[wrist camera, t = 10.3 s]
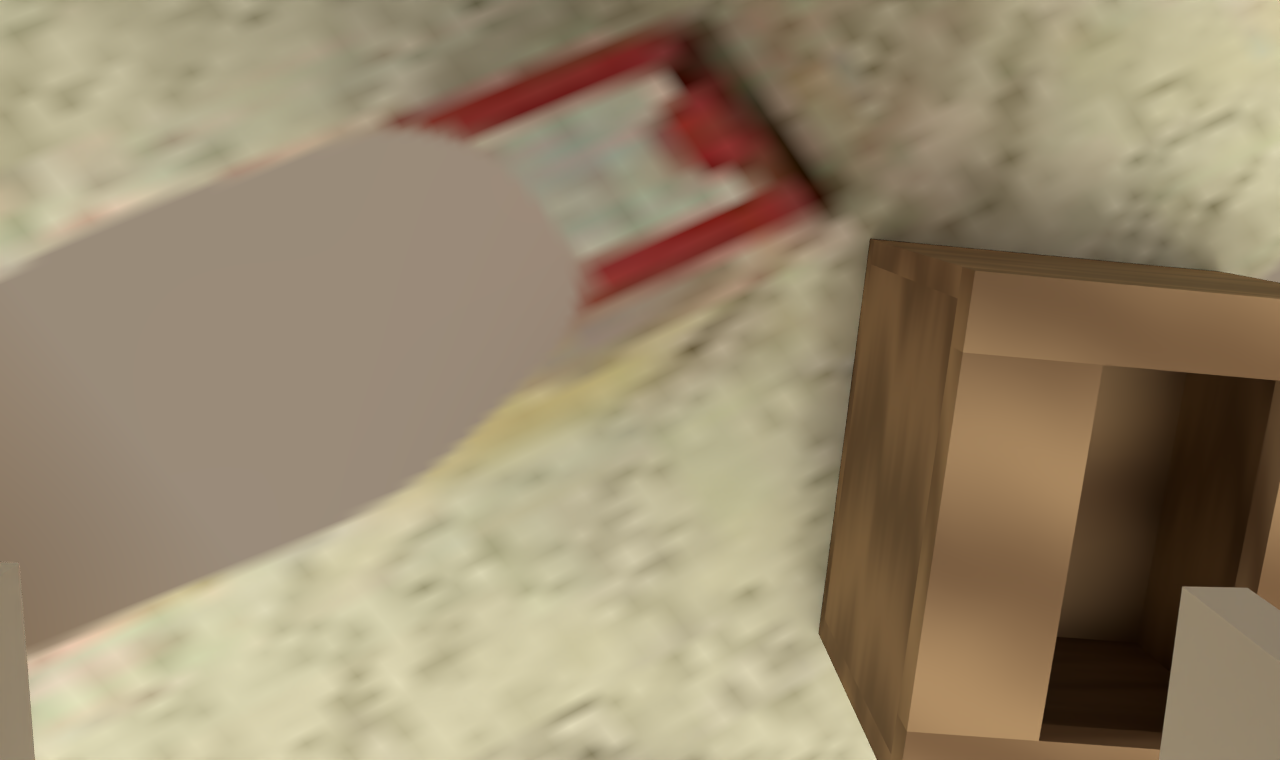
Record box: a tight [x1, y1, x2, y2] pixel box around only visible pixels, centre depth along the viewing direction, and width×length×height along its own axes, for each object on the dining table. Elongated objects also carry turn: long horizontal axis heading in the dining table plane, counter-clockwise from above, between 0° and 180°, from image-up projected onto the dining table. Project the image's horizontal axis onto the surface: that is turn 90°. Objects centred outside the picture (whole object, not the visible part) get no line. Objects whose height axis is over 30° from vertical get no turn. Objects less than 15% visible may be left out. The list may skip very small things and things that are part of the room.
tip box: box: [819, 239, 1280, 760], centre depth 35 cm, size 14×12×11 cm
